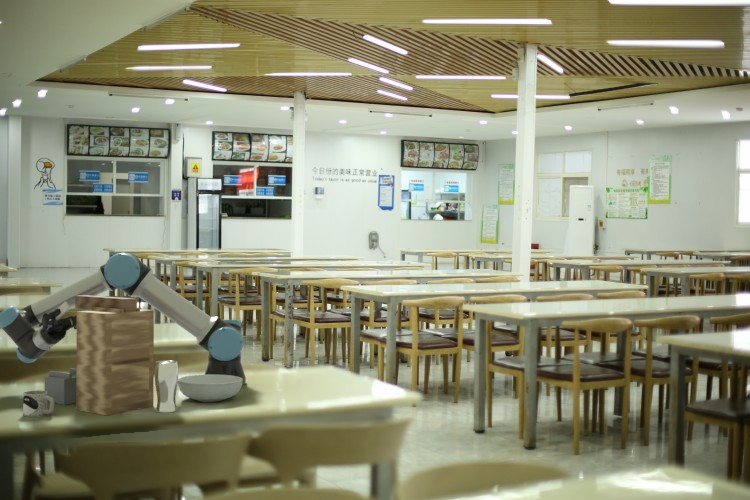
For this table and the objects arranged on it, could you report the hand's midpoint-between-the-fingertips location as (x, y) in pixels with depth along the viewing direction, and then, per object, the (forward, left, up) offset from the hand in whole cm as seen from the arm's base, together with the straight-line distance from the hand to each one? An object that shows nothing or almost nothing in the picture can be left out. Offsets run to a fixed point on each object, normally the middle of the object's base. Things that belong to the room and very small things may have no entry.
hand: (85, 304), depth 281 cm
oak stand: (-12, +6, -31) cm, 34 cm away
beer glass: (-29, +9, -32) cm, 44 cm away
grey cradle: (+7, -5, -31) cm, 32 cm away
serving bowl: (-37, -12, -32) cm, 50 cm away
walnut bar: (-8, +4, -1) cm, 9 cm away
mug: (+6, +19, -32) cm, 38 cm away
